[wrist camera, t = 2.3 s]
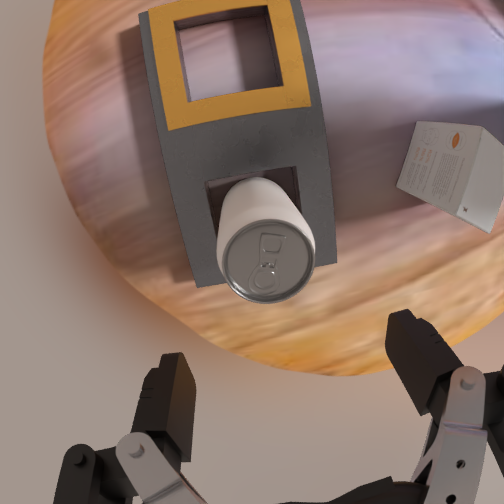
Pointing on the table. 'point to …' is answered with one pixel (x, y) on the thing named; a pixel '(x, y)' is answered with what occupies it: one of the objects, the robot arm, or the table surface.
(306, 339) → the table surface
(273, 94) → the grey slotted tray
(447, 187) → the small box
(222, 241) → the can
